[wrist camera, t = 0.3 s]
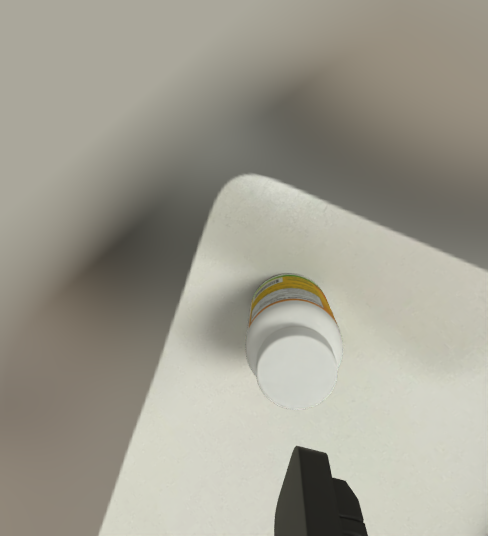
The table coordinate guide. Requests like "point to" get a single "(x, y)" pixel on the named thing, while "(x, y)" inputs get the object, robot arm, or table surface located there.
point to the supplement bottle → (293, 342)
